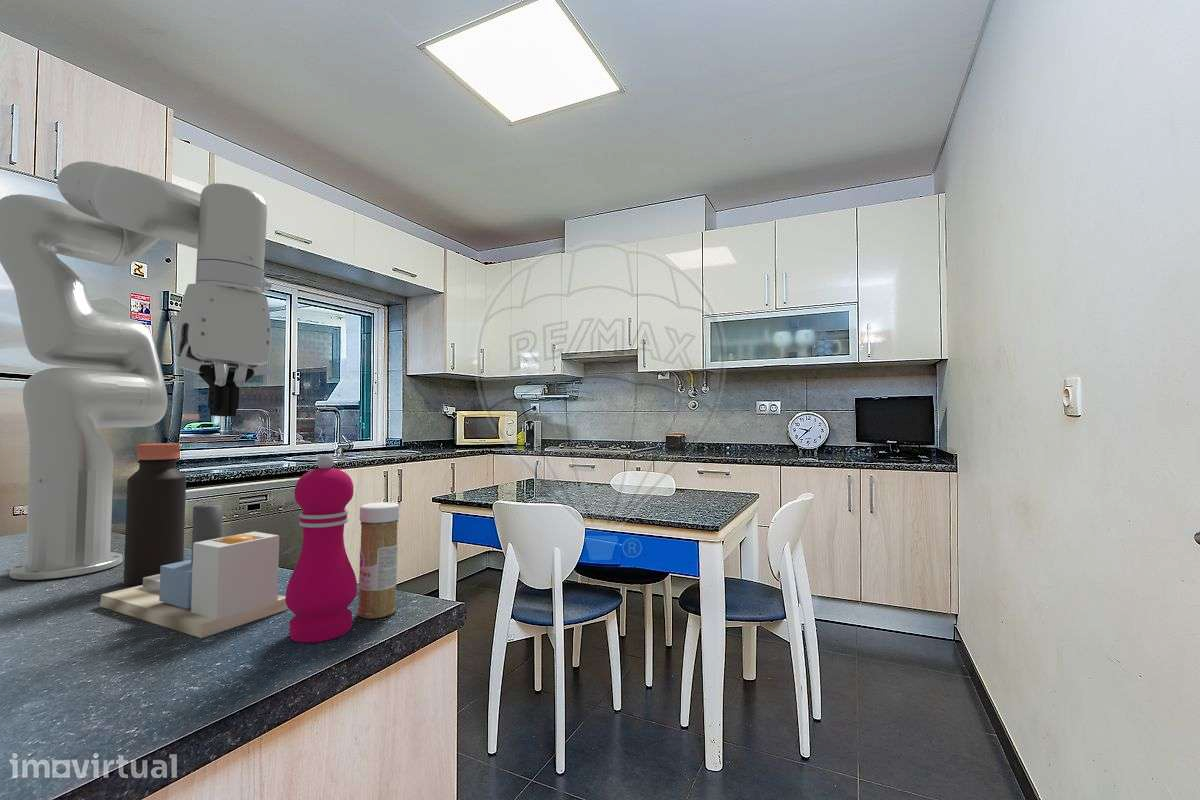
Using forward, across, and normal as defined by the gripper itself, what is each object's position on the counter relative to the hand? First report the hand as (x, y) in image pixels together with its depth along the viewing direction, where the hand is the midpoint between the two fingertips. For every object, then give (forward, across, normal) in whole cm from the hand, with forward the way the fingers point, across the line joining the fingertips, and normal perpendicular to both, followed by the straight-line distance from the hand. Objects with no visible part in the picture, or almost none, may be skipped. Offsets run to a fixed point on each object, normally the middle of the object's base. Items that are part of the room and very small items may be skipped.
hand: (222, 415), depth 73 cm
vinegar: (+25, 0, -16) cm, 30 cm away
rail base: (+24, +3, +2) cm, 25 cm away
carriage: (+22, +3, +5) cm, 23 cm away
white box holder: (+22, +3, +11) cm, 25 cm away
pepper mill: (+24, +1, +23) cm, 33 cm away
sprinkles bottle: (+24, -6, +24) cm, 34 cm away
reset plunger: (+18, +3, +11) cm, 21 cm away
